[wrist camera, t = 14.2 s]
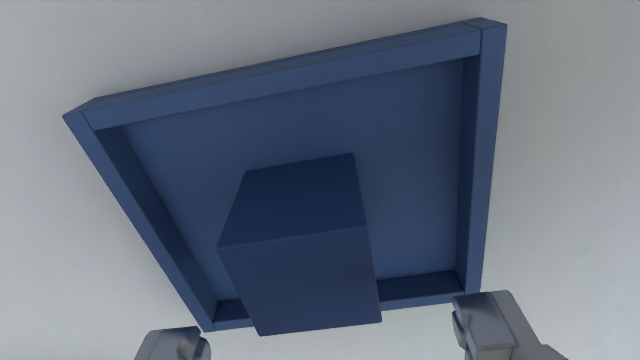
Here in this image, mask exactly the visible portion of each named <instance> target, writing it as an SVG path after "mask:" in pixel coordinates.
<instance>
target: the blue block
mask: <svg viewBox="0 0 640 360" xmlns="http://www.w3.org/2000/svg"><path fill="white" fill-rule="evenodd" d="M216 252H217V254H218V256H219V258H220V260H221V262H222V264H223V266H224V268H225V269H226V271H227V273H228V275H229V277H230V279H231V281H232V283H233V285H234V287H235V289H236V291H237V293H238V295H239V297H240V299H241V301H242V303H243V305H244V307H245V309H246V311H247V313H248V315H249V317H250V319H251V321H252V323H253V325H254V327H255V329H256V331H257V333H258V335H259V336H269V335H278V334H286V333H295V332H304V331H312V330H321V329H329V328H338V327H347V326H355V325H364V324H372V323H380V322H382V316H381V310H380V303H379V297H378V290H377V284H376V277H375V271H374V264H373V258H372V251H371V245H370V238H369V232H368V225H367V220H366V215H365V210H364V204H363V199H362V194H361V188H360V183H359V178H358V172H357V167H356V162H355V157H354V154H353V153H348V154H342V155H337V156H331V157H325V158H319V159H313V160H308V161H302V162H296V163H290V164H284V165H279V166H273V167H267V168H261V169H256V170H250V171H246V172H245V173H244V176H243V178H242V181H241V184H240V186H239V189H238V191H237V194H236V197H235V199H234V202H233V204H232V207H231V209H230V212H229V215H228V217H227V220H226V222H225V225H224V228H223V230H222V233H221V235H220V238H219V241H218V243H217V246H216Z"/></svg>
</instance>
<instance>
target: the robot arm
mask: <svg viewBox="0 0 640 360" xmlns="http://www.w3.org/2000/svg"><path fill="white" fill-rule="evenodd" d="M452 304H453V306H454V309H455V310H454V311H453V312H452V321H453V327H454V331H455V335H456V338H457V341H458V344H459V346H461V347H462V348H463V349H464V350H465V360H568V359H567V358H565V357H564V356H563V355H561V354H560V353H558V352H557V351H556V350H554V349H553V348H551V347H550V346H549V345H547V344H546V345H541V343H540V342H539V340H538V338H537V337H536V335H535V333H534V332H533V330H532V328H531V326H530V325H529V323H528V321H527V320H526V318H525V316H524V314H523V313H522V311H521V309H520V308H519V306H518V304H517V303H516V301H515V299H514V297H513V296H512V294H511V293H510V292H509V291H508V290H501V291H493V292H481V293H473V294H466V295H458V296H454V297H453V302H452ZM200 333H201V331H200V330H199V328H198V327H197V326H191V327H182V328H172V329H161V330H152V331H150V332H149V333H148V334H147V335H146V336H145V338H144V340H143V343H142V345H141V347H140V349H139V351H138V353H137V355H136V357H135V359H134V360H211V348H210V345H209V343H208V341H207V340H206V339H205V338H203V337H200Z"/></svg>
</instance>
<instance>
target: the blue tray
mask: <svg viewBox="0 0 640 360" xmlns="http://www.w3.org/2000/svg"><path fill="white" fill-rule="evenodd" d="M506 35H507V24H505V23H501V22H497V21H493V20H489V19H485V18H482V17H479V18H475V19H470V20H465V21H460V22H455V23H451V24H446V25H441V26H436V27H432V28H427V29H422V30H417V31H413V32H408V33H403V34H398V35H393V36H389V37H384V38H379V39H374V40H370V41H365V42H360V43H355V44H350V45H346V46H341V47H336V48H331V49H327V50H322V51H317V52H312V53H308V54H303V55H298V56H293V57H288V58H284V59H279V60H274V61H269V62H265V63H260V64H255V65H250V66H246V67H241V68H236V69H231V70H226V71H222V72H217V73H212V74H207V75H203V76H198V77H193V78H188V79H183V80H179V81H174V82H169V83H164V84H160V85H155V86H150V87H145V88H141V89H136V90H131V91H126V92H121V93H117V94H112V95H107V96H102V97H98V98H93V99H92V100H90V101H88V102H86V103H84V104H82V105H80V106H78V107H77V108H75V109H73V110H71V111H69V112H67V113H65V114H64V115H62V117H63V119H64V121H65V122H66V124H67V125H68V127H69V128H70V130H71V131H72V133H73V134H74V136H75V137H76V139H77V140H78V142H79V143H80V145H81V146H82V148H83V149H84V151H85V152H86V154H87V155H88V157H89V158H90V160H91V161H92V163H93V165H94V166H95V168H96V169H97V171H98V172H99V174H100V175H101V177H102V178H103V180H104V181H105V183H106V184H107V186H108V187H109V189H110V190H111V192H112V193H113V195H114V196H115V198H116V199H117V201H118V202H119V204H120V206H121V207H122V209H123V210H124V212H125V213H126V215H127V216H128V218H129V219H130V221H131V222H132V224H133V225H134V227H135V228H136V230H137V231H138V233H139V234H140V236H141V237H142V239H143V240H144V242H145V243H146V245H147V246H148V248H149V250H150V251H151V253H152V254H153V256H154V257H155V259H156V260H157V262H158V263H159V265H160V266H161V268H162V269H163V271H164V272H165V274H166V275H167V277H168V278H169V280H170V281H171V283H172V284H173V286H174V287H175V289H176V291H177V292H178V294H179V295H180V297H181V298H182V300H183V301H184V303H185V304H186V306H187V307H188V309H189V310H190V312H191V313H192V315H193V316H194V318H195V319H196V321H197V322H198V324H199V325H200V327H201V328H202V330H203V331H204V332H205V333H206V332H214V331H217V330H218V331H220V330H228V329H236V328H245V327H253V326H254V325H253V323H252V321H251V319H250V317H249V315H248V313H247V311H246V309H245V307H244V305H243V303H242V301H241V299H240V297H239V295H238V293H237V291H236V289H235V287H234V285H233V283H232V281H231V279H230V277H229V275H228V273H227V271H226V269H225V268H224V266H223V264H222V262H221V260H220V258H219V256H218V254H217V252H216V246H217V243H218V241H219V238H220V235H221V233H222V230H223V228H224V225H225V222H226V220H227V217H228V215H229V212H230V209H231V207H232V204H233V202H234V199H235V197H236V194H237V191H238V189H239V186H240V184H241V181H242V178H243V176H244V173H245V172H246V171H250V170H256V169H261V168H267V167H273V166H279V165H284V164H290V163H296V162H302V161H308V160H313V159H319V158H325V157H331V156H337V155H342V154H348V153H353V154H354V157H355V162H356V167H357V172H358V178H359V183H360V188H361V194H362V199H363V204H364V210H365V215H366V220H367V225H368V232H369V238H370V245H371V251H372V258H373V264H374V271H375V277H376V284H377V290H378V297H379V303H380V310H381V311H385V310H394V309H402V308H410V307H419V306H427V305H435V304H443V303H452V302H453V297H454V296H458V295H466V294H473V293H480V288H481V278H482V269H483V259H484V249H485V239H486V230H487V220H488V210H489V200H490V191H491V181H492V171H493V161H494V152H495V142H496V132H497V122H498V113H499V103H500V93H501V84H502V74H503V64H504V54H505V45H506Z"/></svg>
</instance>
